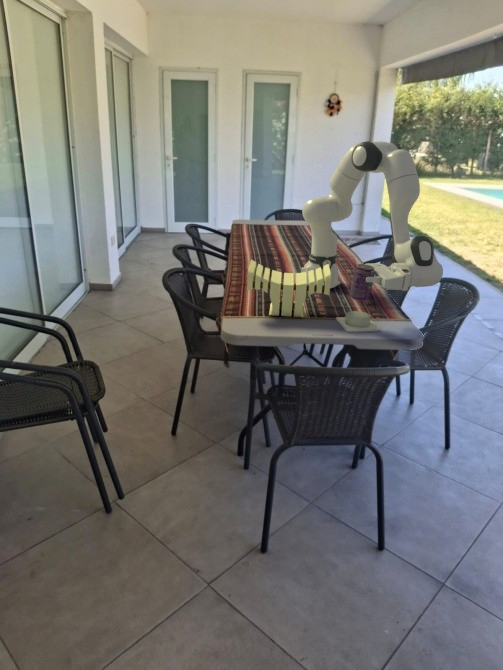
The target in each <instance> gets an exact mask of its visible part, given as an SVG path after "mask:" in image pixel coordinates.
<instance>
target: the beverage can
mask: <svg viewBox="0 0 503 670" xmlns="http://www.w3.org/2000/svg"><path fill="white" fill-rule="evenodd" d="M365 264H366V263H365ZM365 264H363V263H358V264H356V267H355V269H354V272H353V275H352V282H351V286H350V291H349V297H351V298H352V300H354V301H355V300H356V301H359V302H365V301H368V300H370V298H371V293H372V289H373V284H374V283H372V282H366V281H365V277H366V276H371V277H374V275H375V272H374V267H373V266H370V265H365Z"/></svg>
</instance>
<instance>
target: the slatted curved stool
mask: <svg viewBox="0 0 503 670" xmlns="http://www.w3.org/2000/svg"><path fill="white" fill-rule="evenodd" d="M263 271H264V272H263ZM270 274H271V278H270ZM323 274H324V286H322V284H323V276H322V271H321V267H320V268H317V269H316V285H315V279H314V271H313V270H311V271H308V285H307V280H306V272H296V273H294V272H293V273H292V272H291V273H289V272H284V273H282V271H278V270H274V269H272V271H271V269H270V268H269V267H265V268H264V265H262V264H260V263H258V264H257V262H256V261H255V260H253V259H250V262H249V266H248V271H247V281H246V282H247V286H246V287H247V288H246V291H253V289H254V290H256V291H257V290H258V291H260V290H262V291H263V292H264V293H266V294H268V292H269V299H270V301H271V303H270V304H269V305H270V306H269V313H268V316H280V315H281V316H282V317H292V315H293V318H295V317H296V318H304V303H305V301H306V299H307V298H306V297H307V296H311V295H314V294H315V293H316V294H322V293H323V294H324V295H327V296H330V294H331V293H330V292H331V291H330V290H331V288H330V283H331V272H330V268H329V264H327V265H325V266H323ZM282 275H283V277H282ZM294 275H295V277H294ZM254 278H255V279H254ZM282 278H283V282H282ZM294 278H295V279H294ZM294 280H295V282H294ZM269 281H270V282H269ZM269 290H270V291H269ZM281 291H282V297H281ZM294 291H295V294H294ZM307 294H308V295H307ZM294 295H295V296H294ZM281 298H282V299H281ZM293 299H294V300H293ZM280 310H281V314H280ZM292 311H293V312H292Z"/></svg>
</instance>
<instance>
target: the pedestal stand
mask: <svg viewBox="0 0 503 670" xmlns="http://www.w3.org/2000/svg"><path fill="white" fill-rule="evenodd" d="M371 318H372V316H371V314H369V313H367V312H365V311H360V310H352V311H351V310H350V311H347V312H346V313H345V316H342V317H341V316H340V317H337V316H336V319H335V320H336V321H337V323H339V324H340V326H342V328H343V329H344V330H345V331H346V332H347V333H354V332H355V333H356V332H357V333H359V332H379V331H380V328H379V327H378V326H377V325H376V324H375V323H374V322H373V321H372V320H371Z"/></svg>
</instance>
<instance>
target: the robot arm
mask: <svg viewBox="0 0 503 670" xmlns="http://www.w3.org/2000/svg"><path fill="white" fill-rule="evenodd" d="M417 171H418V170H417V167H416V164H415V162H414V159H413V157H412V154H411V153H410V152H409V151H408V150H406V149H403V147H402V146H400V145H398V144H397V143H394V142H386V141H370V140H369V141H362V142H359V143H355V144H353V145H351V146H350V148H349V149H348V150H347V151H346V152H345V153H344V155H343V157H342V158H341V159H340V161H339V162H338V165H337V166H336V168H335V170H334V172H333V173H332V175H331V177H330V179H329V183H328V184H329V187H330V193H329V194H327V195H326V196H319V197H314V198H312V199H309V200H307V201H305V202H304V203H303V206H302V211H301V213H302V217H303V219H304V220H305V222H306V223H307V224H308V225H309V228H310V231H311V249H310V250H311V251H310V254H309V255H308V261H307V262H306V263H305V264H304V267H302V266H301V268H300V269H301V270H300V273H302V272H306V280H307V285H308V271H311V270H313V271H314V279H315V285H316V269H317V268H320V267H321V271H322V276H323V284H322V286H324V274H323V266H325V265H327V264H329V268H330V272H331V283H330V289H332V288H336V287H337V286H339V285H341V281H340V280H339V266H338V265H337V260H338V256H337V255H338V254H337V247H338V239H339V238H338V236H337V234H336V233H335V232H334V231H333V228H332V223H337V222H341V221H344V220H346V219H349V218H350V216H351V215H352V212H353V203H352V197H353V196H354V193H355V191H356V189H357V187H358V186H359V185H360V183H361V181H362V179H363V177H364V176H365V173H372V174H374V173H375V174H378V173H383V175H384V178H385V183H386V189H387V192H388V193H387V194H388V200H389V221H390V231H391V238H392V249H391V256H390V258H391V261H392V263H391V264H390V266H389V265H388V266H387V265H385V264H384V263H373V262H372V263H371V262H370V263H369V262H368V263H365V265H370V266H373V267H374V272H375V275H374V277H371V276H366V277H365V281H366V282H372V283H373V284H378V285H379V286H380V287H382V288H383V289H385V290H393V291H402V292H408V290H409V287H414V288H415V287H416V288H423V287H424V288H425V287H433V286H435V285H438V283H439V282H440V281H441V280H442V278H443V275H444V267H443V265H442V264H441V263H440V262H439V261H438V258H437V256H436V254H435V247H434V244H433V242H432V240H431V239H430V238H429V237H428V236H425V235H421V234H420V235H416V236H414V237H412V238H411V237H410V230H409V229H410V228H409V215H410V212H411V210H412V208H413V206H414V205H415V203H416V202H417V201H418V199H419V197H420V194H421V193H420V191H421V185H420V183H421V182H420V179H419V176H418V175H419V174H418V172H417Z"/></svg>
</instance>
